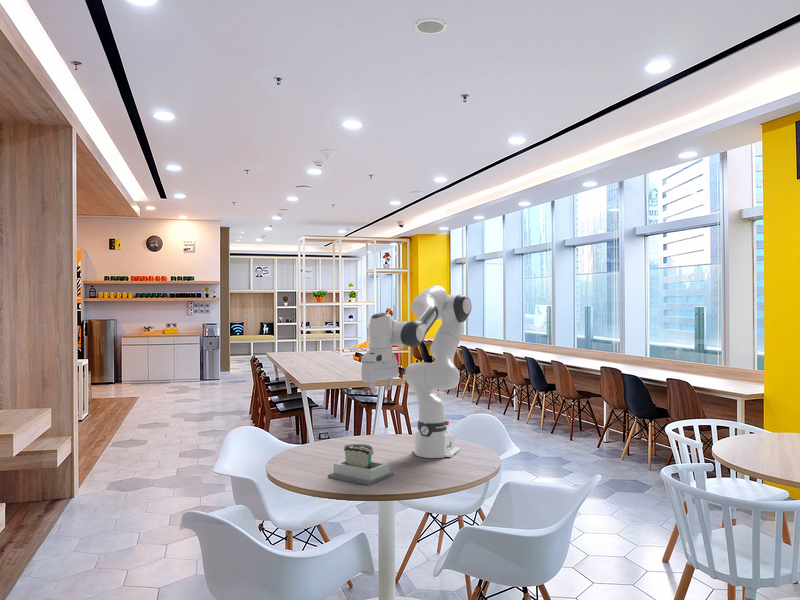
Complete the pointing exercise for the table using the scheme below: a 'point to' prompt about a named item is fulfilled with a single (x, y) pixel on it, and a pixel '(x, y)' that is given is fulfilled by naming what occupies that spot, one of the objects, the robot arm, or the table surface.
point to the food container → (358, 455)
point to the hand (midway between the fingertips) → (381, 391)
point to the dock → (361, 473)
